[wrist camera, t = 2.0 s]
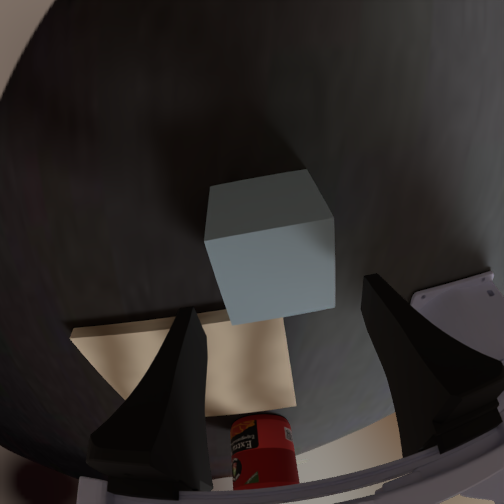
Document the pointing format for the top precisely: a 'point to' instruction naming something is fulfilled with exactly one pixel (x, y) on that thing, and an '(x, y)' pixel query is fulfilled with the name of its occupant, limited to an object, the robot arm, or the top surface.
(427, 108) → the top surface
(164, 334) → the board
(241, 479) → the canned food
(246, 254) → the cube
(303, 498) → the robot arm
